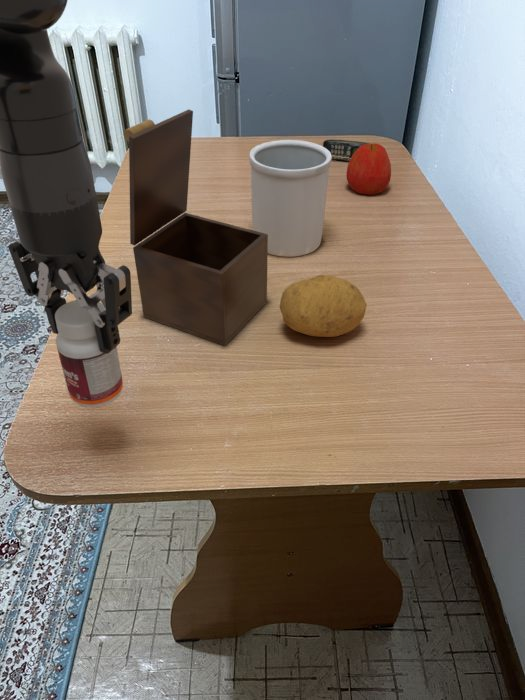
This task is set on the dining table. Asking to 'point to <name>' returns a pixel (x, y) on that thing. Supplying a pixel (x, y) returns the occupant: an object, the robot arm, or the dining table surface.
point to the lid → (158, 173)
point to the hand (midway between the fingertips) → (85, 339)
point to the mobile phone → (342, 148)
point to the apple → (369, 169)
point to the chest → (203, 276)
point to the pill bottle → (86, 358)
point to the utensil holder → (289, 194)
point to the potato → (322, 306)
